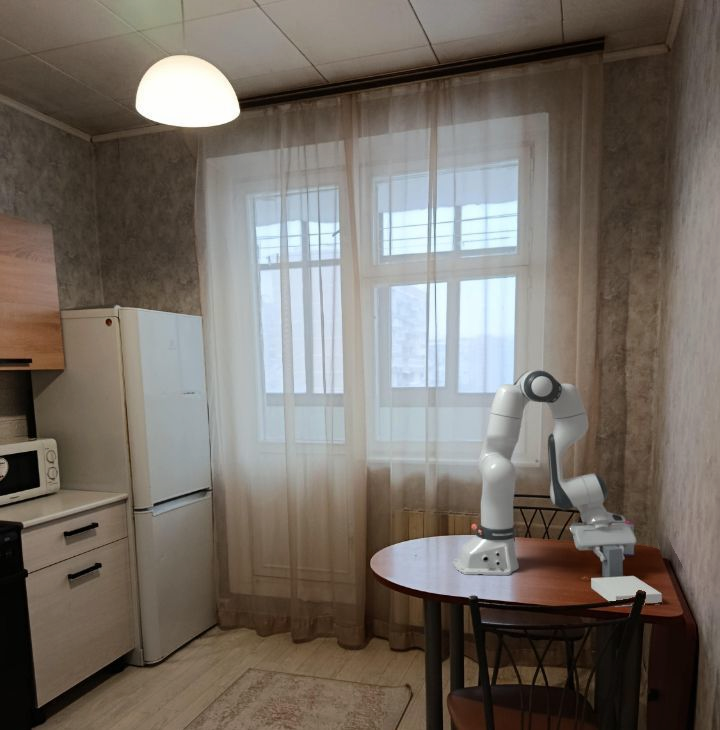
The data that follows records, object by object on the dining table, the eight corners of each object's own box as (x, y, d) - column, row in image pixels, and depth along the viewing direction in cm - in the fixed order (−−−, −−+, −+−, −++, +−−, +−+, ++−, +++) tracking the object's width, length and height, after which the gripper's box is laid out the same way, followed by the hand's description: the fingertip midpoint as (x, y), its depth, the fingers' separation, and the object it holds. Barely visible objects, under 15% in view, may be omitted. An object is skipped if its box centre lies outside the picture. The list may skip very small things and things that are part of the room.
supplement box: (634, 556, 202) (634, 524, 202) (617, 555, 203) (616, 524, 203) (629, 551, 207) (629, 520, 207) (613, 550, 208) (612, 519, 208)
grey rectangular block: (609, 580, 179) (609, 549, 179) (602, 575, 184) (601, 545, 184) (622, 579, 179) (622, 549, 180) (615, 574, 184) (614, 544, 184)
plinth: (616, 606, 160) (615, 596, 160) (591, 587, 174) (591, 578, 174) (661, 604, 161) (661, 593, 161) (633, 585, 175) (633, 575, 175)
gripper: (570, 518, 188) (586, 557, 178) (628, 516, 189) (646, 554, 180) (565, 528, 192) (579, 566, 182) (621, 525, 194) (638, 563, 184)
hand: (613, 560), depth 181 cm, fingers closed on grey rectangular block, 4 cm apart
